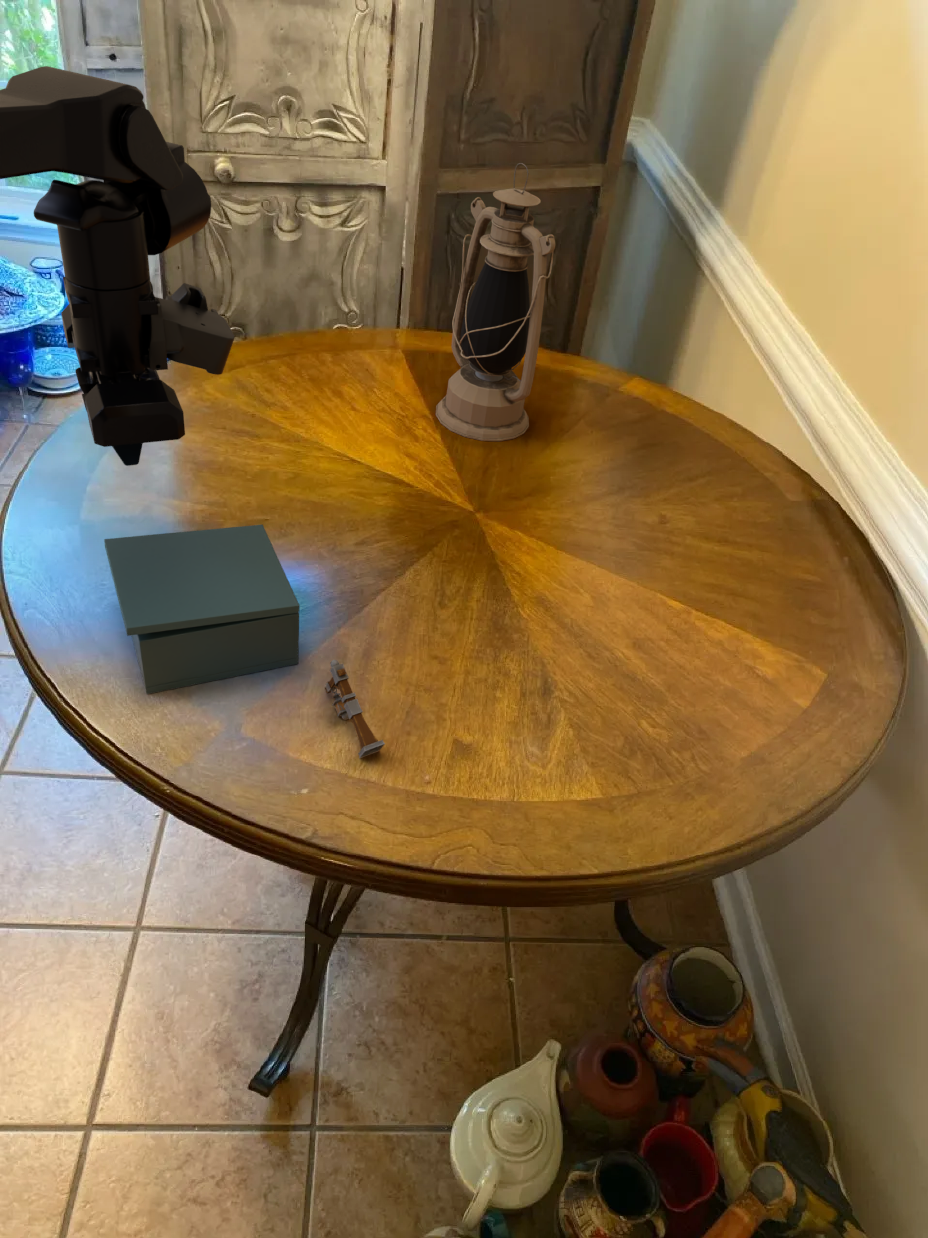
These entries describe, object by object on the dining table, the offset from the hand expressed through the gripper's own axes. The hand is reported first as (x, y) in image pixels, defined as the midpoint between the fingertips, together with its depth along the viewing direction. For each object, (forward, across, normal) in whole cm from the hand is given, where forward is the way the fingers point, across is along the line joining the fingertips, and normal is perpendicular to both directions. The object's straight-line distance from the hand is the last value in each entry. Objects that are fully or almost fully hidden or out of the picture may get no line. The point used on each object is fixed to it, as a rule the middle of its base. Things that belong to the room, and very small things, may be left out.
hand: (131, 463), depth 75 cm
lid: (+7, -8, -4) cm, 11 cm away
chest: (+13, -8, -4) cm, 16 cm away
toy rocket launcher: (+13, -22, -12) cm, 28 cm away
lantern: (+13, +23, -45) cm, 52 cm away
